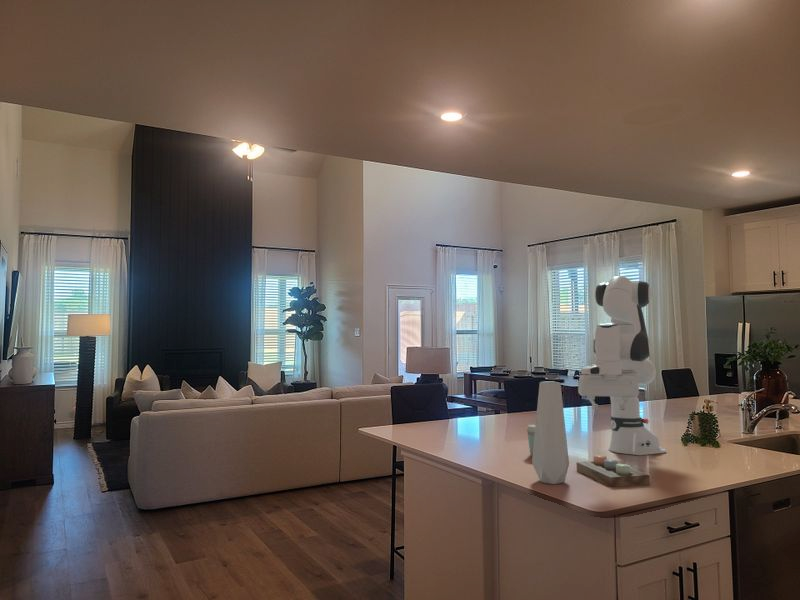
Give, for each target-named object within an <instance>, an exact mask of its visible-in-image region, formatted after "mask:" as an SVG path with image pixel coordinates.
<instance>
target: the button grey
mask: <svg viewBox="0 0 800 600" xmlns="http://www.w3.org/2000/svg"><path fill="white" fill-rule="evenodd" d="M618 463H619V461H618V460H616V459H608V458H607V459H606V460H604V468H605V469H607V470H616V464H618Z"/></svg>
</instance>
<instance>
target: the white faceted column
mask: <svg viewBox="0 0 800 600" xmlns="http://www.w3.org/2000/svg"><path fill="white" fill-rule="evenodd" d="M537 396H538V397H537V406H536V407H537V408H536V417H535V424H536V426H535V436H534V447H533V456H531V457H532V460H531V461H532V462H531V463H532V464H531V465H532V467H533V469H534V470H535V474H536V475H537V478H538V479H539V481H540V483H544V484H549V485H559V484H563V483H565V480H566V479H567V473H568V469H569V465H570V460H569V458H570V457H569V449H568V440H567V432H566V422H565V411H564V403H563V393H562V385H561V382H558V381H540V382H539V387H538V395H537Z"/></svg>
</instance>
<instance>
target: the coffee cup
mask: <svg viewBox="0 0 800 600" xmlns="http://www.w3.org/2000/svg"><path fill="white" fill-rule="evenodd" d="M535 426H536V423H535V424H534V423H533V424H528V425H527V428H526V431H527V438H528V446H529V453H530V456H531V457H533V447H534V436H535Z"/></svg>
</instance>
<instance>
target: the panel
mask: <svg viewBox="0 0 800 600" xmlns="http://www.w3.org/2000/svg"><path fill="white" fill-rule="evenodd" d="M618 464H621V463H620V462H618ZM576 471H577V472H579V473H581V474H583V475H586V476H588V477H589V476H590V478H591V479H594V480H596V481H598V482H601V483H602V484H605V485H607V486H608V487H610V488H611V487H612V488H613V487H614V488H615V487H626V486H629V487H630V486H643V485H645V486H646V485H650V484H651V481H650V480H651V477H650V473H649V474H648V473H646V472H643V471H641V470H638V469H635V468H633V467H631V466H630V475H619V474H616V470H607V469H605V468H604V465H595V464H594V460H590V461H589V460H588V461H576Z"/></svg>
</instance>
